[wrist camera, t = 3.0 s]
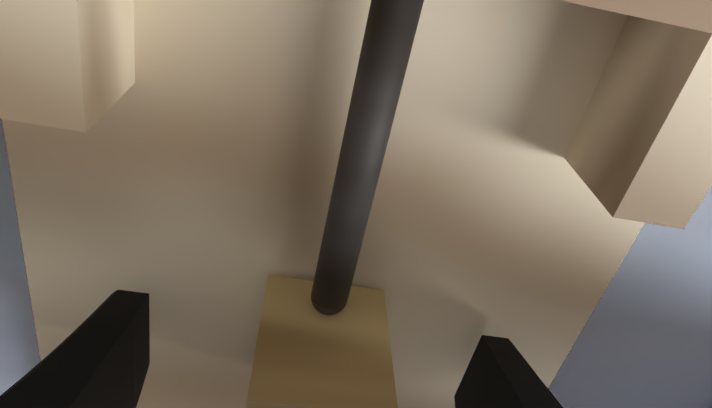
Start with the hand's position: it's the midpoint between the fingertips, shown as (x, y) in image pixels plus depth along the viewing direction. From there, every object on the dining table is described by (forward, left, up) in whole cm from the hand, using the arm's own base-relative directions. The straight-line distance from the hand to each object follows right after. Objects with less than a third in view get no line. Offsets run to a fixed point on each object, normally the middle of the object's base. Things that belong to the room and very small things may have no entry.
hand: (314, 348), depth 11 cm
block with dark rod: (+6, 0, 0) cm, 6 cm away
